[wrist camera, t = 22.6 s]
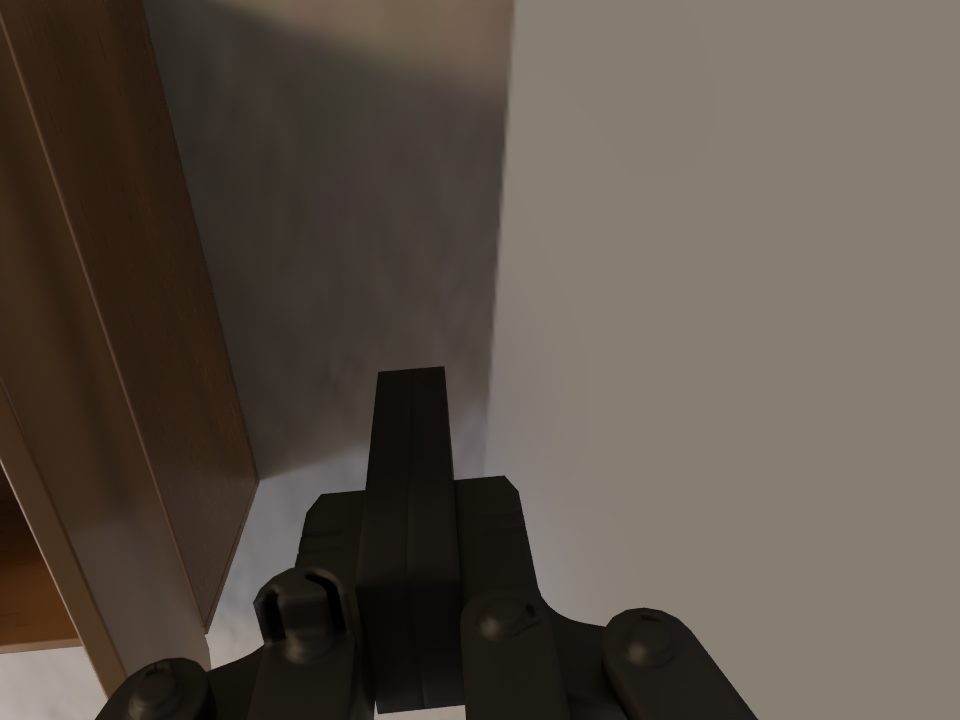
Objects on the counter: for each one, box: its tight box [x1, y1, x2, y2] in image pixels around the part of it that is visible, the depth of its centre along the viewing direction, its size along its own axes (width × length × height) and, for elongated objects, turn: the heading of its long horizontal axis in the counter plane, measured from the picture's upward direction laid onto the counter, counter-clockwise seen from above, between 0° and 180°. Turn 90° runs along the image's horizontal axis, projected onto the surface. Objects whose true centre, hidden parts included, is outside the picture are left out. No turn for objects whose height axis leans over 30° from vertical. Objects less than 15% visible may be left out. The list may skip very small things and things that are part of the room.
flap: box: [0, 22, 211, 700], centre depth 15 cm, size 9×20×1 cm
